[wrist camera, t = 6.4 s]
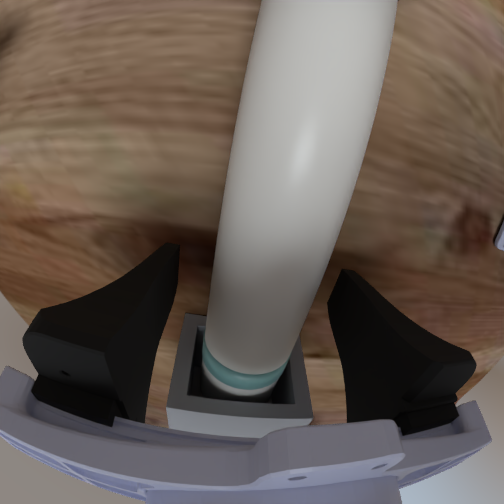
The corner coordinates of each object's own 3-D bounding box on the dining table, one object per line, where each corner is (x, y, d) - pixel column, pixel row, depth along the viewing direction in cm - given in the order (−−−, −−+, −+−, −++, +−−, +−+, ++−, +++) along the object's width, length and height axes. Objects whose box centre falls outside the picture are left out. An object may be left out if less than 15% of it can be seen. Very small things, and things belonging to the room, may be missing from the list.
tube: (283, -83, 4) (298, -134, 1) (379, -54, 5) (424, -89, 1) (202, 352, 16) (195, 411, 13) (269, 360, 17) (274, 418, 13)
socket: (185, 313, 16) (166, 407, 10) (297, 327, 16) (313, 418, 11) (184, 363, 18) (171, 442, 13) (277, 373, 19) (284, 451, 14)
